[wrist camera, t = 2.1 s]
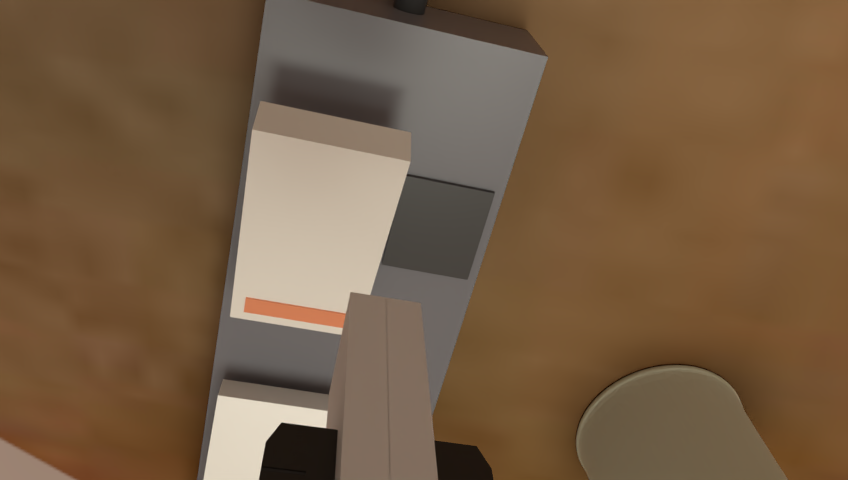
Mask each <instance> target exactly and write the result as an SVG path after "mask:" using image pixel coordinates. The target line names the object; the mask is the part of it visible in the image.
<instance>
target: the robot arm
mask: <svg viewBox="0 0 848 480" xmlns="http://www.w3.org/2000/svg"><path fill="white" fill-rule="evenodd" d="M259 480H493V475H492V470H491V467H490V466H489V464H488V463H487V461H486V460H485V458H484V457H483V455H482V454H481V452H480V451H479V449H478V448H477V446H471V445H463V444H456V443H448V442H441V441H434V433H433V423H432V412H431V402H430V392H429V382H428V372H427V361H426V351H425V341H424V331H423V320H422V310H421V303H417V302H411V301H405V300H399V299H392V298H386V297H380V296H374V295H367V294H361V293H355V292H350V297H349V301H348V306H347V311H346V316H345V320H344V325H343V330H342V335H341V339H340V344H339V349H338V353H337V358H336V363H335V368H334V372H333V377H332V382H331V387H330V391H329V400H328V412H327V424H326V428H320V427H313V426H305V425H298V424H290V423H282V422H281V424H280V425H279V426H278V427H277V429H276V430H275V431H274V432H273V433H272V435H271V436H270V437H269V438H268V440H267V441H266V443H265V449H264V454H263V460H262V465H261V471H260V476H259Z"/></svg>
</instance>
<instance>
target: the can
mask: <svg viewBox="0 0 848 480" xmlns="http://www.w3.org/2000/svg"><path fill="white" fill-rule="evenodd" d="M576 449H577V454H578V458H579V460H580V462H581V464H582V466H583V468H584V470H585V471H586V473H587V476H588V478H589V480H788V479H787V478H786V476H785V474H784V473H783V471H782V470H781V468H780V467H779V465H778V464H777V462H776V461H775V459H774V457H773V456H772V454H771V453H770V451H769V449H768V448H767V446H766V445H765V443H764V442H763V440H762V438H761V437H760V435H759V434H758V432H757V430H756V429H755V427H754V426H753V424H752V423H751V421H750V419H749V418H748V416H747V414H746V413H745V411H744V409H743V407H742V403H741V401H740V398H739V396H738V395H737V393H736V391H735V390H734V389H733V388H732V387H731V385H730V384H729V383H728V382H726V381H725V380H724V379H723V378H721V377H720V376H718V375H716V374H714V373H712V372H710V371H708V370H705V369H702V368H698V367H694V366H687V365H665V366H658V367H652V368H648V369H644V370H641V371H638V372H635V373H633V374H631V375H628V376H626V377H624V378H622V379H620V380H619V381H617V382H615V383H614V384H612V385H611V386H609V387H608V388H607V389H605V390H604V391H603V392H602V393H601V394H600V395H598V396H597V397H596V398H595V400H594V401H593V402H592V403H591V404H590V405H589V407H588V408H587V410H586V411H585V413H584V415H583V417H582V419H581V421H580V423H579V426H578V430H577V435H576Z"/></svg>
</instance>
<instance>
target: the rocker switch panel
mask: <svg viewBox="0 0 848 480" xmlns="http://www.w3.org/2000/svg"><path fill="white" fill-rule="evenodd" d="M427 1H428V0H266V2H265V9H264V16H263V23H262V30H261V37H260V44H259V51H258V58H257V65H256V72H255V79H254V86H253V93H252V100H251V107H250V114H249V121H248V128H247V135H246V142H245V149H244V156H243V163H242V170H241V177H240V184H239V191H238V198H237V205H236V212H235V219H234V226H233V233H232V240H231V247H230V254H229V261H228V268H227V275H226V281H225V288H224V295H223V302H222V309H221V316H220V323H219V330H218V337H217V344H216V351H215V358H214V365H213V372H212V379H211V386H210V393H209V400H208V407H207V414H206V421H205V428H204V435H203V442H202V449H201V456H200V463H199V470H198V477H197V480H203V479H204V473H205V467H206V462H207V456H208V450H209V444H210V438H211V433H212V427H213V421H214V415H215V409H216V403H217V398H218V393H219V390H220V387H221V384H222V381H223V379H226V380H233V381H240V382H247V383H254V384H260V385H267V386H274V387H281V388H288V389H294V390H301V391H308V392H315V393H322V394H328V395H329V391H330V387H331V382H332V377H333V372H334V368H335V363H336V358H337V353H338V349H339V344H340V339H341V335H339V334H333V333H327V332H321V331H314V330H308V329H302V328H296V327H290V326H283V325H277V324H271V323H265V322H259V321H252V320H246V319H240V318H234V317H230V311H231V303H232V295H233V286H234V278H235V269H236V261H237V253H238V244H239V236H240V227H241V219H242V211H243V202H244V194H245V185H246V177H247V169H248V160H249V152H250V143H251V135H252V128H253V125H254V121H255V118H256V114H257V111H258V107H259V104H260V101H264V102H268V103H273V104H278V105H283V106H287V107H292V108H297V109H302V110H307V111H311V112H316V113H321V114H326V115H330V116H335V117H340V118H345V119H349V120H354V121H359V122H364V123H368V124H373V125H378V126H383V127H387V128H392V129H397V130H402V131H406V132H411V162H410V165H409V169H408V172H407V175H406V179H405V182H404V185H403V188H402V192H401V195H400V198H399V202H398V205H397V208H396V212H395V215H394V218H393V221H392V225H391V228H390V231H389V235H388V238H387V241H386V244H385V248H384V251H383V254H382V258H381V261H380V264H379V268H378V271H377V274H376V277H375V281H374V284H373V287H372V291H371V294H370V295H374V296H380V297H386V298H392V299H399V300H405V301H411V302H417V303H421V310H422V320H423V331H424V341H425V351H426V361H427V372H428V382H429V392H430V402H431V412H432V415H433V412H434V409H435V405H436V402H437V399H438V396H439V393H440V390H441V387H442V384H443V381H444V378H445V375H446V371H447V368H448V365H449V362H450V359H451V356H452V353H453V350H454V347H455V344H456V340H457V337H458V334H459V331H460V328H461V325H462V322H463V319H464V316H465V313H466V309H467V306H468V303H469V300H470V297H471V294H472V291H473V288H474V285H475V282H476V279H477V275H478V272H479V269H480V266H481V263H482V260H483V257H484V254H485V251H486V248H487V244H488V241H489V238H490V235H491V232H492V229H493V226H494V223H495V220H496V217H497V213H498V210H499V207H500V204H501V201H502V198H503V195H504V192H505V189H506V186H507V183H508V179H509V176H510V173H511V170H512V167H513V164H514V161H515V158H516V155H517V152H518V148H519V145H520V142H521V139H522V136H523V133H524V130H525V127H526V124H527V121H528V117H529V114H530V111H531V108H532V105H533V102H534V99H535V96H536V93H537V90H538V87H539V83H540V80H541V77H542V74H543V71H544V68H545V65H546V62H547V59H548V56H547V55H546V54H545V52H544V51H543V50H542V49H541V47H540V46H539V45H538V43H537V42H536V41H535V40H534V38H533V37H532V36H531V34H530V33H529V32H528V31H527V30H523V29H519V28H515V27H510V26H506V25H502V24H498V23H494V22H490V21H485V20H481V19H477V18H473V17H469V16H465V15H460V14H456V13H452V12H448V11H444V10H440V9H435V8H431V7H427V6H426V5H427Z"/></svg>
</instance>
